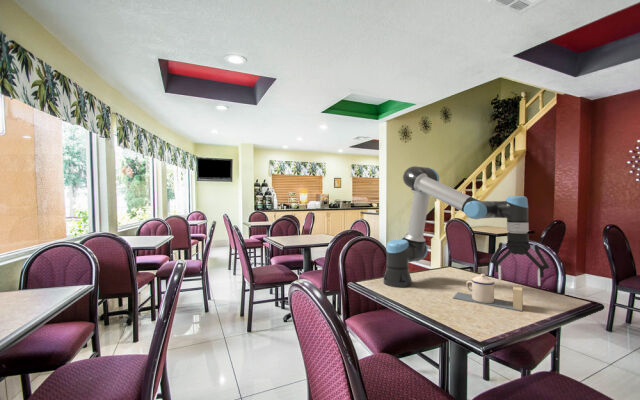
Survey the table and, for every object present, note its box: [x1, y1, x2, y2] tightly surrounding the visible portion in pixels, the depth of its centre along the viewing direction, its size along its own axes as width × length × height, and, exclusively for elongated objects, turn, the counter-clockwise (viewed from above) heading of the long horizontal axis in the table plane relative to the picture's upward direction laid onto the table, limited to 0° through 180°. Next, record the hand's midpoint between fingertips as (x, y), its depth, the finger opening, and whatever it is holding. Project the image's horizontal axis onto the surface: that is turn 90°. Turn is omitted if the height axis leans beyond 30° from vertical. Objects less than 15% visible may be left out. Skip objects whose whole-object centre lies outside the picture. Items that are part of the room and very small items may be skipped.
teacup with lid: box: [465, 273, 495, 303], centre depth 129 cm, size 12×9×12 cm
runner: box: [452, 284, 524, 312], centre depth 127 cm, size 26×10×8 cm, turn 52°
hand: (518, 282), depth 120 cm, fingers open, 13 cm apart
